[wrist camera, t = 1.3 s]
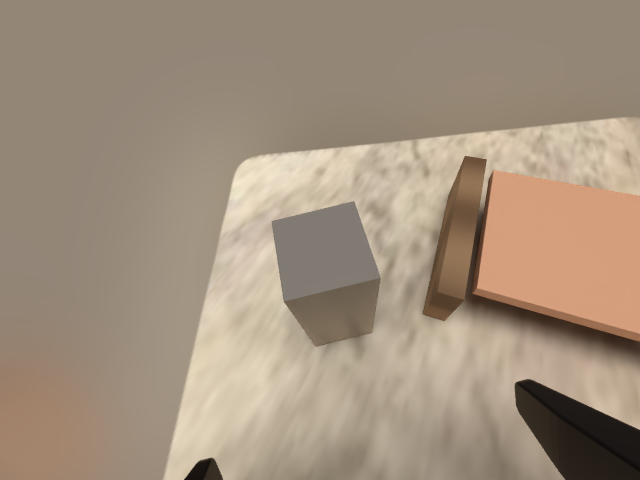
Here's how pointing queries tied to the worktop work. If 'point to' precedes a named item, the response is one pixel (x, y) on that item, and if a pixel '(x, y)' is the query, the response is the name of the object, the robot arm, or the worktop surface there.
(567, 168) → the worktop surface
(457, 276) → the brown bracket
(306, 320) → the gray rectangular block
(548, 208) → the trapdoor
